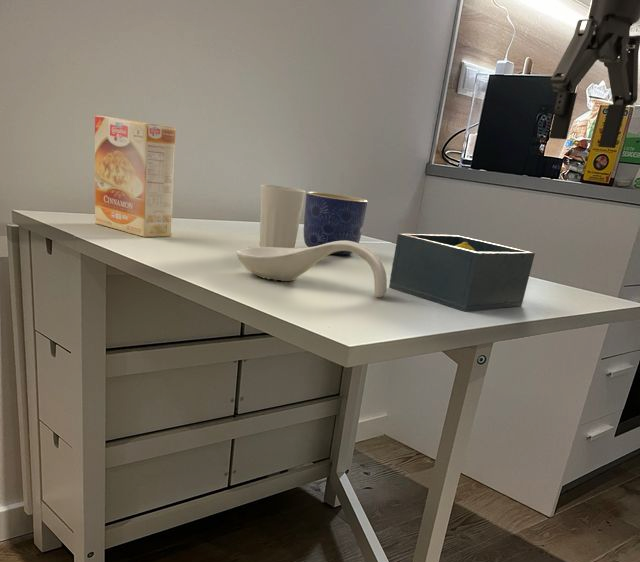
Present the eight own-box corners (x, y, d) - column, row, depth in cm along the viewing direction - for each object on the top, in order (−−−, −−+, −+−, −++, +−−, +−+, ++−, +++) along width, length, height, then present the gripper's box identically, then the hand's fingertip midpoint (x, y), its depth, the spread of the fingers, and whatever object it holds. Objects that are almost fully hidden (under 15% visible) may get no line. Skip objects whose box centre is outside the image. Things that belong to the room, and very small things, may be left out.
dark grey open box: (521, 306, 109) (535, 253, 105) (465, 311, 99) (478, 253, 95) (446, 284, 119) (457, 235, 116) (388, 287, 109) (397, 233, 105)
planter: (287, 246, 137) (293, 190, 132) (328, 245, 145) (335, 193, 141) (331, 258, 129) (339, 199, 125) (371, 256, 138) (380, 202, 134)
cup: (275, 261, 118) (282, 190, 113) (245, 252, 122) (251, 183, 118) (306, 260, 123) (314, 192, 119) (276, 251, 128) (283, 186, 123)
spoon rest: (223, 275, 100) (226, 226, 97) (250, 265, 110) (254, 221, 107) (376, 304, 95) (385, 253, 92) (389, 291, 106) (397, 245, 103)
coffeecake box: (93, 223, 130) (93, 114, 123) (123, 223, 136) (124, 119, 128) (143, 237, 122) (145, 122, 115) (172, 236, 128) (177, 126, 120)
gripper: (641, 11, 110) (605, 149, 118) (548, -27, 96) (515, 133, 104) (685, 7, 105) (645, 152, 113) (593, -33, 90) (555, 135, 98)
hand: (582, 143), depth 108 cm, fingers open, 13 cm apart
